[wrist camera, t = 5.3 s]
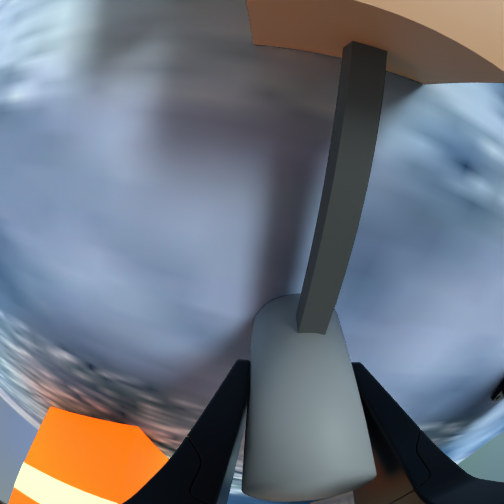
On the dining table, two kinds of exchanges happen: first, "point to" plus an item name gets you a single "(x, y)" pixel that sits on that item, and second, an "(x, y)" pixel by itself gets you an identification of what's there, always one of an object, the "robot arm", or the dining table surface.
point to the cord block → (342, 230)
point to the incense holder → (337, 499)
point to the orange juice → (85, 462)
